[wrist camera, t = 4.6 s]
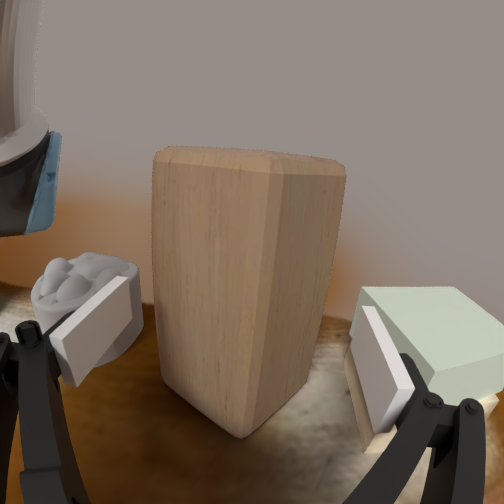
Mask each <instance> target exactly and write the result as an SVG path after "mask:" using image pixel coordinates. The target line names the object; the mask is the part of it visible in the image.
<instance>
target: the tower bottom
mask: <svg viewBox="0 0 504 504" xmlns="http://www.w3.org/2000/svg"><path fill="white" fill-rule="evenodd" d="M351 341H352V337H351V339H350V342H349V346H348V349H347V352H346V355H345V358H344V362H343V366H344V370H345V374H346V378H347V382H348V386H349V390H350V394H351V398H352V402H353V406H354V411H355V415H356V419H357V424H358V428H359V433H360V437H361V442H362V447H363V452H364V454H365V453H377V452H384V450H385V449H386V447H387V446H388V444H389V443H390V441H391V440H392V438H393V437H394V435H395V434H396V432H397V429H396V425H394V427H393V428H392V430H391V431H390V433H380V434H374V432H373V428H372V424H371V420H370V416H369V412H368V408H367V405H366V401H365V397H364V394H363V390H362V386H361V383H360V379H359V376H358V372H357V369H356V365H355V362H354V358H353V355H352V352H351V348H350V345H351ZM478 402H479V403H481V405H482V406H483V409H484V416H485V420H486V419H487V418H488V416H489V415H490V413H491V412H492V410H493V409H494V408H495V406H496V405H497V403H498V402H499V399H498V398H497V396H496V395H495V394H493V395H491V396H489V397H486V398H484V399H482V400H479V401H478Z"/></svg>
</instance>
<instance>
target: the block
mask: <svg viewBox="0 0 504 504" xmlns="http://www.w3.org/2000/svg"><path fill="white" fill-rule="evenodd" d="M345 183H346V173H345V167H344V165H342V164H340V163H339V162H337V161H336V160H332V159H325V158H319V157H312V156H305V155H297V154H289V153H282V152H273V151H263V150H250V149H235V148H217V147H216V148H214V147H187V146H185V147H184V146H168V147H166V148H164V149H162V150H160V151H158V152H156V154H155V157H154V160H153V175H152V265H153V288H154V304H155V318H156V330H157V340H158V350H159V359H160V368H161V376H162V378H163V380H164V382H165V383H166V385H167V386H169V387H170V388H171V389H172V390H173V391H175V392H176V393H177V394H178V395H179V396H181V397H182V398H183V399H184V400H186V401H187V402H188V403H189V404H191V405H192V406H193V407H194V408H196V409H197V410H198V411H200V412H201V413H202V414H203V415H205V416H206V417H207V418H209V419H210V420H211V421H213V422H214V423H216V424H217V425H218V426H220V427H221V428H222V429H224V430H225V431H227V432H228V433H230V434H231V435H232V436H234V437H237V438H240V439H242V438H245V437H247V436H249V435H250V434H251V433H252V432H253V431H255V430H256V429H257V428H258V427H259V426H260V425H261V424H262V423H264V422H265V421H266V420H267V419H268V418H269V417H270V416H271V415H272V414H273V413H274V412H276V411H277V410H278V409H279V408H280V407H281V406H282V405H283V404H284V403H285V402H286V401H287V400H288V399H289V398H290V397H291V396H292V395H293V394H294V393H295V392H296V391H297V390H298V389H299V388H300V387H301V386H302V385H303V384H304V383H305V382H306V381H307V377H308V373H309V369H310V365H311V362H312V358H313V354H314V350H315V345H316V341H317V337H318V333H319V328H320V324H321V320H322V315H323V311H324V306H325V301H326V296H327V291H328V286H329V281H330V276H331V271H332V266H333V259H334V255H335V249H336V243H337V237H338V231H339V224H340V218H341V212H342V205H343V197H344V190H345Z"/></svg>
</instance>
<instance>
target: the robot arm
mask: <svg viewBox="0 0 504 504" xmlns="http://www.w3.org/2000/svg"><path fill="white" fill-rule="evenodd" d="M43 4H44V0H0V237H6V236H7V237H8V236H17V235H27V234H28V233H32V232H38V231H43V230H46V229H48V228H49V227H50V226H51V225H52V223H53V221H54V217H55V205H56V192H57V180H58V168H59V160H60V150H61V138H62V136H61V134H60V133H58V132H54V131H51V132H49V131H48V119H47V116H46V114H45V113H44V112H42V111H41V110H40V109H38V108H36V107H35V72H36V57H37V47H38V46H37V45H38V37H39V29H40V22H41V16H42V10H43ZM131 320H132V310H131V301H130V290H129V279H128V277H122V276H116V277H115V278H114V279H113V280H111V281H110V282H109V283H108V284H107V285H105V286H104V287H103V288H102V289H101V290H100V291H98V292H97V293H96V294H95V295H94V296H93V297H91V298H90V299H89V300H88V301H87V302H86V303H84V304H83V305H82V306H81V307H80V308H79V309H78V310H77V311H75V310H73V311H71V312H69V313H67V314H65V315H64V316H63V317H62V318H61V319H60V320H58V321H57V322H56V323H55V324H54V325H53V326H51V327H50V328H49V329H48V330H47V331H46V332H45V333H44V334H43V335H42V331H41V328H40V325H39V323H38V322H37V321H33V320H28V321H24V322H22V323H20V324H18V325H17V326H16V328H15V332H16V335H17V338H18V341H19V343H15V342H11V339H10V337H9V335H8V334H7V333H4V332H0V504H5V501H6V489H7V477H8V468H9V460H10V453H11V446H12V440H13V435H14V430H15V425H16V420H17V415H18V411H19V422H20V435H21V444H22V453H23V460H24V467H25V470H24V471H22V472H20V484H21V489H22V494H23V499H24V503H25V504H91V502H90V500H89V498H88V496H87V493H86V490H85V487H84V484H83V481H82V478H81V475H80V472H79V469H78V466H77V462H76V459H75V455H74V452H73V448H72V444H71V440H70V436H69V432H68V427H67V423H66V418H65V413H64V408H63V403H62V397H61V391H60V384H59V381H58V379H57V378H58V377H59V376H60V375H61V374H62V377H63V379H64V382H65V383H67V384H69V385H72V386H74V387H78V386H79V385H80V383H81V382H82V381H83V380H84V378H85V377H86V376H87V374H88V373H89V372H90V371H91V369H92V368H93V367H94V365H95V364H96V363H97V362H98V360H99V359H100V358H101V357H102V355H103V354H104V353H105V352H106V350H107V349H108V348H109V347H110V345H111V344H112V343H113V342H114V340H115V339H116V338H117V337H118V335H119V334H120V333H121V332H122V330H123V329H124V328H125V327H126V326H127V324H128V323H129V322H130V321H131ZM350 348H351V352H352V355H353V358H354V362H355V365H356V369H357V372H358V376H359V379H360V383H361V386H362V390H363V394H364V397H365V401H366V405H367V408H368V412H369V416H370V420H371V424H372V428H373V432H374V434H380V433H390V431H391V430H392V428H393V427H394V425H396V429H397V432H396V434H395V435H394V437H393V438H392V440H391V441H390V443H389V444H388V446H387V447H386V449H385V450H384V452H383V453H382V454H381V456H380V457H379V459H378V460H377V461H376V463H375V464H374V465H373V467H372V468H371V469H370V471H369V472H368V473H367V475H366V476H365V477H364V478H363V480H362V481H361V482H360V483H359V485H358V486H357V487H356V488H355V489H354V491H353V492H352V493H351V494H350V495H349V497H348V498H347V499H346V500H345V501H344V502H343V503H342V504H394V502H395V501H396V499H397V498H398V496H399V494H400V493H401V491H402V490H403V488H404V487H405V485H406V483H407V482H408V480H409V478H410V476H411V475H412V473H413V471H414V469H415V468H416V466H417V464H418V462H419V460H420V459H421V457H422V455H423V453H424V451H425V449H426V447H431V448H432V452H431V457H430V463H429V468H428V473H427V478H426V482H425V486H424V491H423V495H422V499H421V502H420V504H483V496H484V484H485V461H486V439H485V416H484V409H483V406H482V405H481V403H479V402H478V401H477V400H475V399H472V398H466V399H463V400H462V401H461V402H460V404H459V405H458V406H454V405H448V404H445V403H444V401H443V399H442V398H441V397H440V396H439V395H437V394H436V393H433V392H430V391H429V389H428V387H427V385H426V383H425V381H424V379H423V377H422V376H421V374H420V372H419V370H418V368H417V366H416V364H415V362H414V360H413V359H412V358H411V357H410V356H409V355H408V354H406V353H398V351H397V349H396V347H395V345H394V343H393V341H392V339H391V337H390V335H389V333H388V331H387V330H386V328H385V326H384V324H383V322H382V320H381V318H380V316H379V314H378V312H377V311H376V309H375V307H374V306H361V310H360V314H359V317H358V321H357V324H356V328H355V331H354V335H353V338H352V341H351V345H350Z"/></svg>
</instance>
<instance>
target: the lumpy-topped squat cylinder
mask: <svg viewBox="0 0 504 504" xmlns="http://www.w3.org/2000/svg"><path fill="white" fill-rule="evenodd" d="M116 276H122V277H128V279H129V290H130V301H131V310H132V320H131V321H130V322H129V323H128V324H127V326H126V327H125V328H124V329H123V330H122V332H121V333H120V334H119V335H118V337H117V338H116V339H115V340H114V342H113V343H112V344H111V345H110V347H109V348H108V349H107V350H106V352H105V353H104V354H103V355H102V357H101V358H100V359H99V360H98V362H97V363H96V364H95V365H94V367H93V368H95V367H98V366H101V365H103V364H106V363H108V362H110V361H113V360H115V359H117V358H118V357H120V356H121V355H122V354H123V353H124V352H125V351H126V350H127V349H128V348H129V347H130V346H131V345H132V343H133V342H134V341H135V340H136V338H137V337H138V335H139V334H140V332H141V331H142V329H143V325H144V323H143V314H142V303H141V292H140V279H139V268H138V267H137V265H135V264H134V263H132V262H128V261H124V260H123V259H121V258H119V257H116V256H108V255H100V254H97V253H93V252H86V253H83V254H82V255H80V256H79V257H77V258H74V259H71V260H68V261H67V260H66V259H64V258H55V259H53V260H52V261H50V262H49V264H48V265H47V267H46V270H45V272H44V275H42V276H41V277H40V278H39V279H38V280H37V282H36V283H35V285H34V287H33V289H32V291H31V301H32V305H33V309H34V313H35V317H36V321H37V322H38V323H39V325H40V328H41V331H42V335H43V334H44V333H45V332H46V331H47V330H48V329H49V328H50V327H51V326H53V325H54V324H55V323H56V322H57V321H58V320H60V319H61V318H62V317H63V316H64V315H65V314H67V313H69V312H71V311H73V310H75V311H77V310H78V309H79V308H80V307H81V306H82V305H83V304H84V303H86V302H87V301H88V300H89V299H90V298H91V297H93V296H94V295H95V294H96V293H97V292H98V291H100V290H101V289H102V288H103V287H104V286H105V285H107V284H108V283H109V282H110V281H111V280H113V279H114V278H115V277H116Z"/></svg>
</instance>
